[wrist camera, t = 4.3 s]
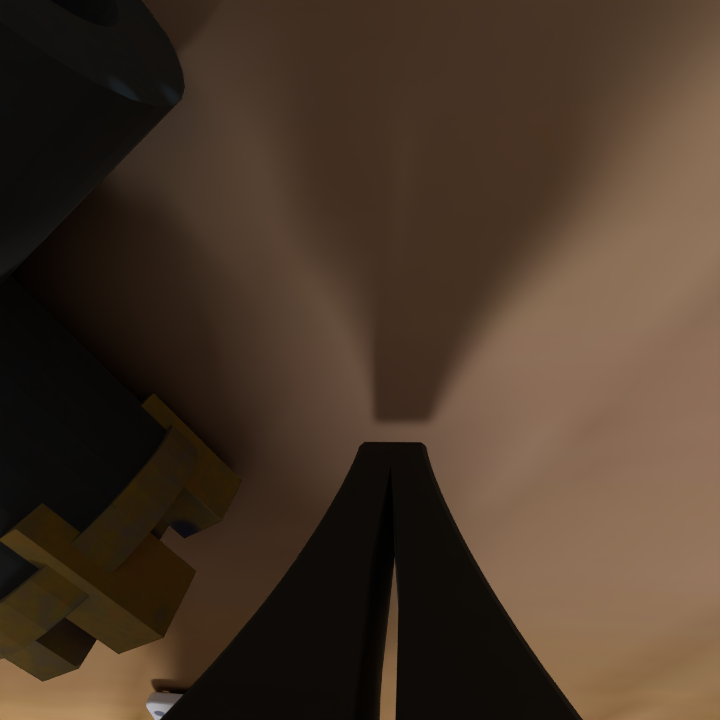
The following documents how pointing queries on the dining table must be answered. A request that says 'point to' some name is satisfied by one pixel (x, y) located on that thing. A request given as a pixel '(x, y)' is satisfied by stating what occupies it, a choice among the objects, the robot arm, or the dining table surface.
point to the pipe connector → (83, 356)
